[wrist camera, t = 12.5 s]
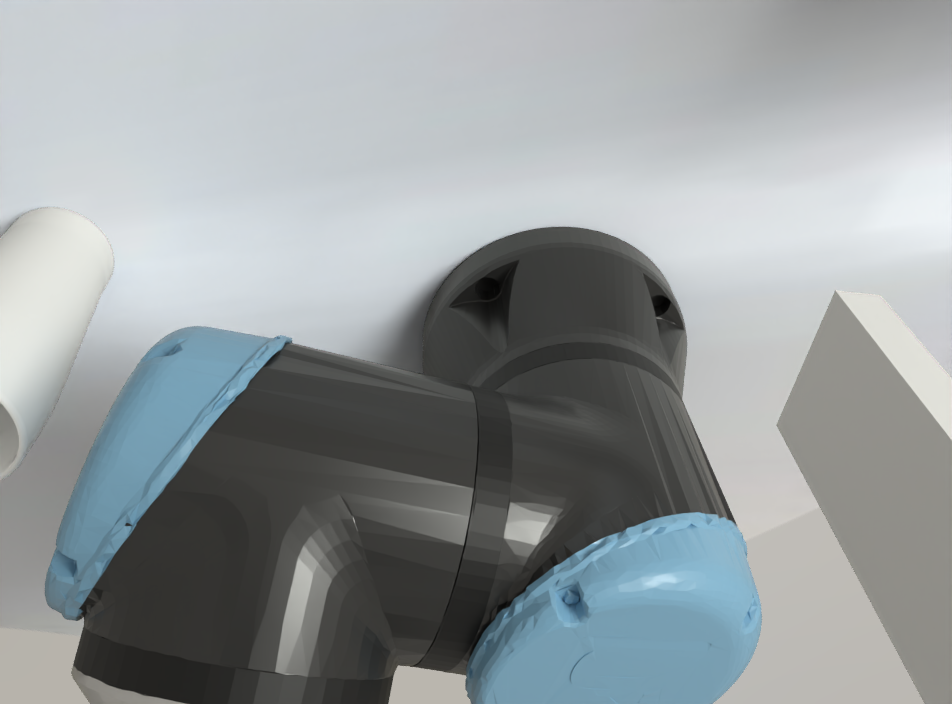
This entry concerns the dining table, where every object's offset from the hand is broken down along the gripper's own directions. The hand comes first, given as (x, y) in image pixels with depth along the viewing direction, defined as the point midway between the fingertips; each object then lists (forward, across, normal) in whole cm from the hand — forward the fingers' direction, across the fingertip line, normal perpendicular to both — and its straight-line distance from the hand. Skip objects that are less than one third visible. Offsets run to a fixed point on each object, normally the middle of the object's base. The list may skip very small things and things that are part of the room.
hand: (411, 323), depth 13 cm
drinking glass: (+31, +17, +17) cm, 39 cm away
